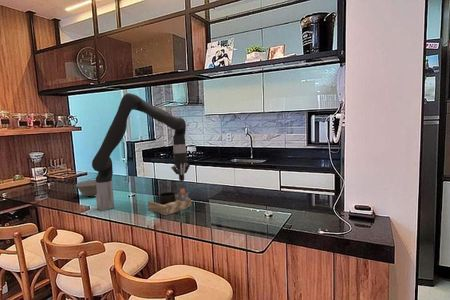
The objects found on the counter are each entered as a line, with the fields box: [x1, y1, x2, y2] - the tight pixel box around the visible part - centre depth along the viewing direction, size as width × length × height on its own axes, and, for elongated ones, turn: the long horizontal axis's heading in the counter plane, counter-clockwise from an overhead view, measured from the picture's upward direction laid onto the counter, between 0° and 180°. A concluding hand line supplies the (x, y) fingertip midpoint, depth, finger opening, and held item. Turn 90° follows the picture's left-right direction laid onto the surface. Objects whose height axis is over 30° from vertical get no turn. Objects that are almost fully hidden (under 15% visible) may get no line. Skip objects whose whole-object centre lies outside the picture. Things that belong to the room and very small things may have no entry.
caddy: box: [147, 192, 192, 216], centre depth 175 cm, size 19×17×9 cm
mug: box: [158, 191, 176, 205], centre depth 175 cm, size 9×12×9 cm
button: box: [179, 188, 186, 194], centre depth 173 cm, size 3×3×4 cm
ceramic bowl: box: [75, 179, 97, 197], centre depth 216 cm, size 22×23×10 cm
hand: (181, 180), depth 173 cm, fingers closed
